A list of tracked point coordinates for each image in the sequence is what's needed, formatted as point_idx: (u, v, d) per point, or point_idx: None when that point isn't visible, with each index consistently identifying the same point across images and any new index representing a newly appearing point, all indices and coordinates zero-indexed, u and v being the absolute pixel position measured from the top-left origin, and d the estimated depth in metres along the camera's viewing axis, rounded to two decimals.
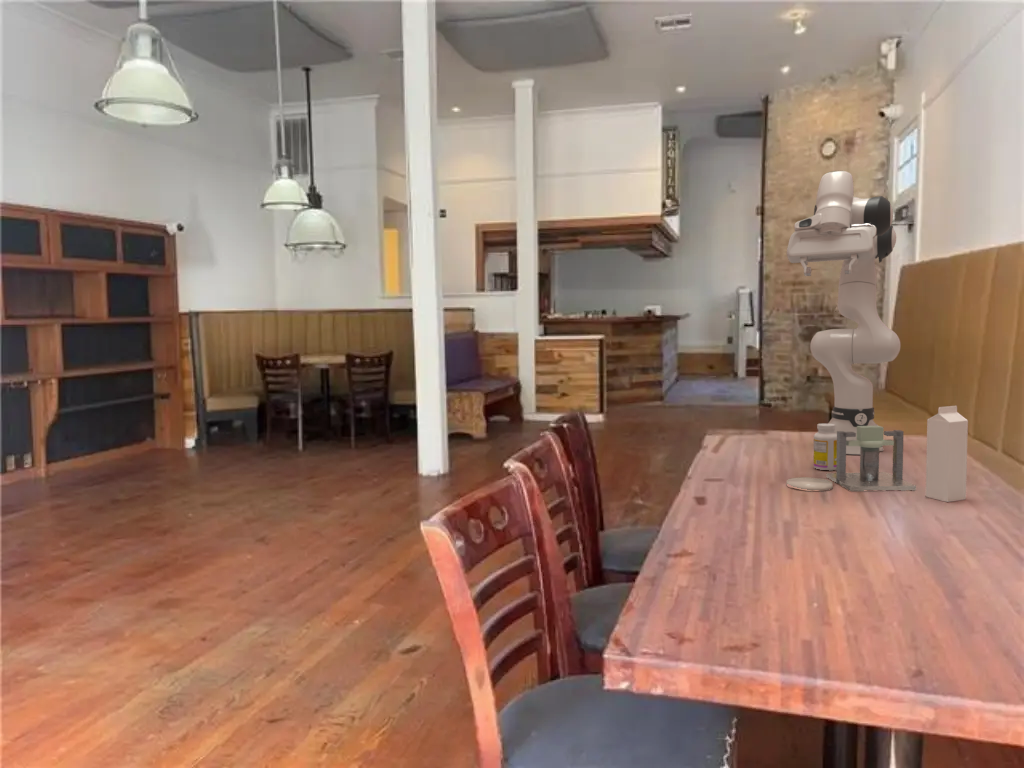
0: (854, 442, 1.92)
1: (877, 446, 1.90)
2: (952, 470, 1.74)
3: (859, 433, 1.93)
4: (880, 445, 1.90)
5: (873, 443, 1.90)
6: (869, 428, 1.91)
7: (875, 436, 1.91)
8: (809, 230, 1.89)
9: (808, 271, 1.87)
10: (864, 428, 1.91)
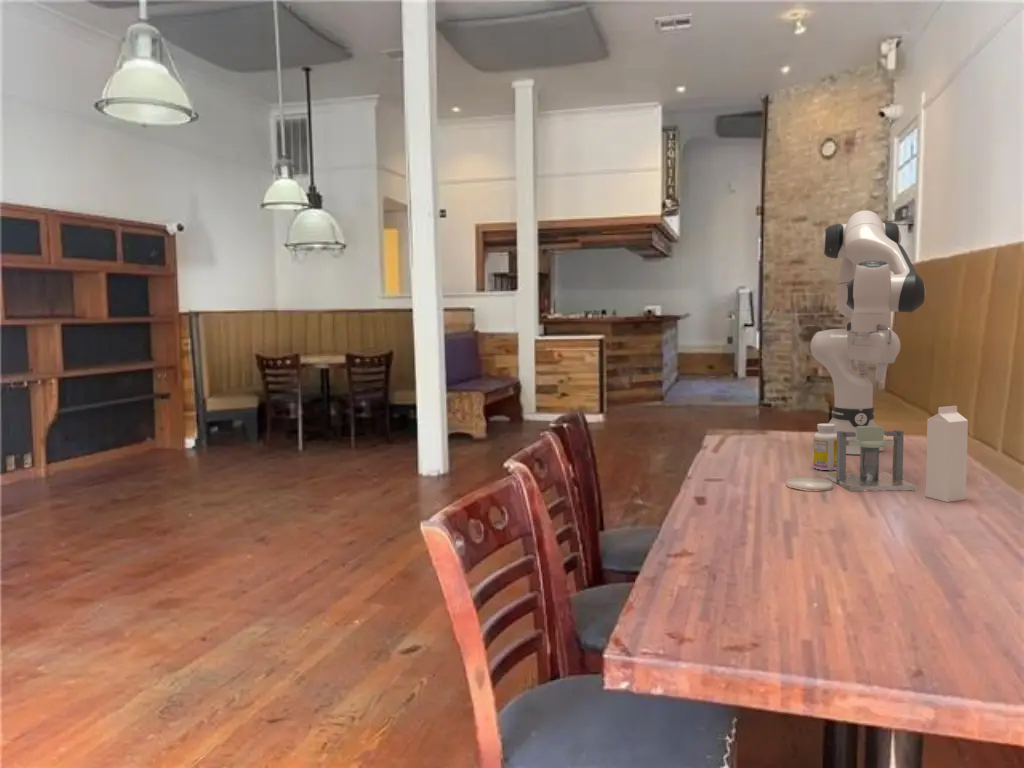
0: (854, 442, 1.92)
1: (877, 446, 1.90)
2: (952, 470, 1.74)
3: (859, 433, 1.93)
4: (880, 445, 1.90)
5: (873, 443, 1.90)
6: (869, 428, 1.91)
7: (875, 436, 1.91)
8: (852, 335, 1.95)
9: (859, 375, 1.96)
10: (864, 428, 1.91)
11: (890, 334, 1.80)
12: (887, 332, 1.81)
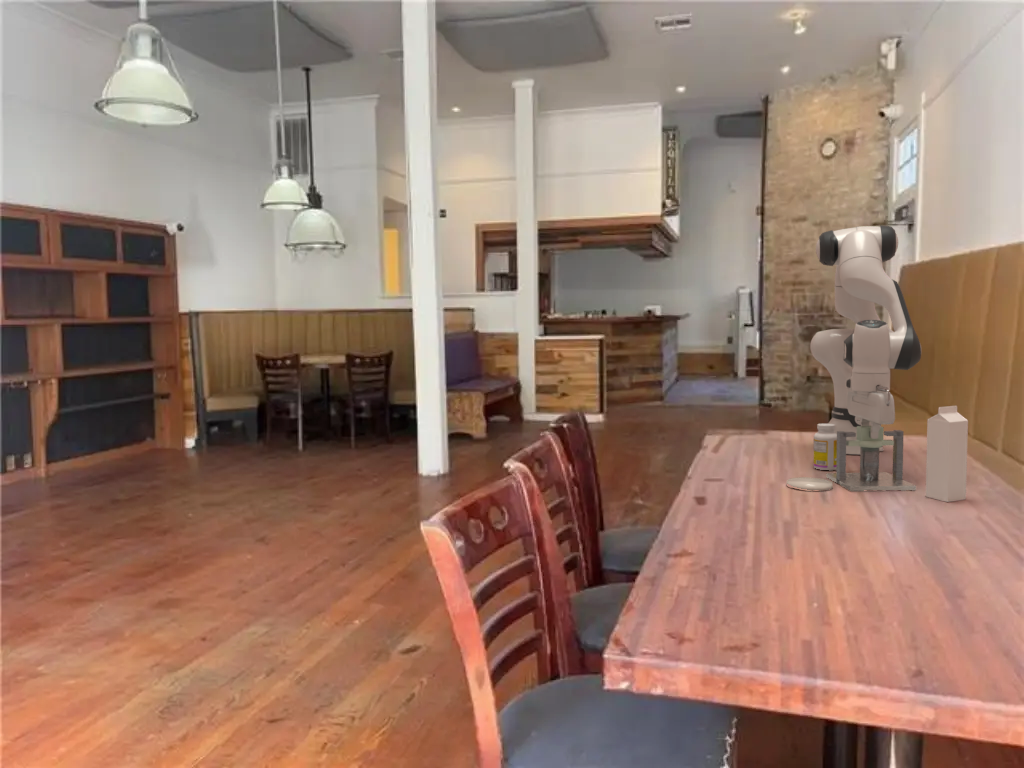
0: (854, 442, 1.92)
1: (877, 446, 1.90)
2: (952, 470, 1.74)
3: (859, 433, 1.93)
4: (880, 445, 1.90)
5: (873, 443, 1.90)
6: (869, 428, 1.91)
7: None
8: (852, 392, 1.97)
9: None
10: (864, 428, 1.91)
11: (889, 396, 1.82)
12: (886, 394, 1.82)
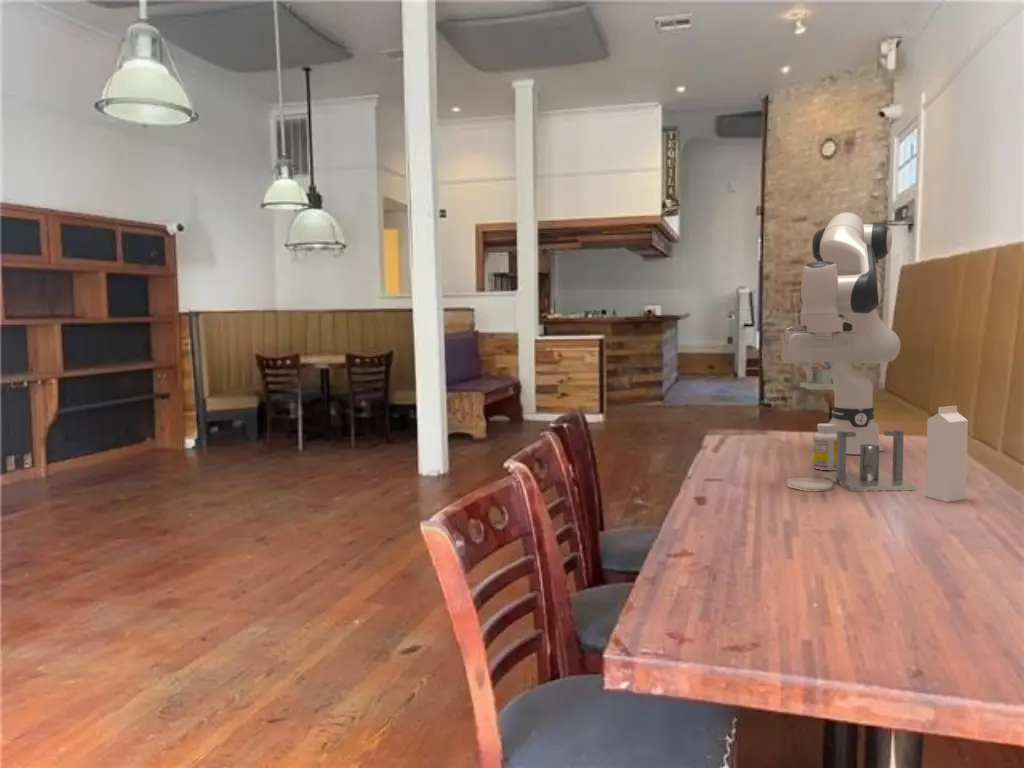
0: (803, 383, 1.94)
1: (811, 388, 1.88)
2: (952, 470, 1.74)
3: None
4: (815, 387, 1.88)
5: (808, 384, 1.89)
6: (812, 370, 1.90)
7: (816, 378, 1.89)
8: None
9: None
10: None
11: (784, 335, 1.86)
12: None
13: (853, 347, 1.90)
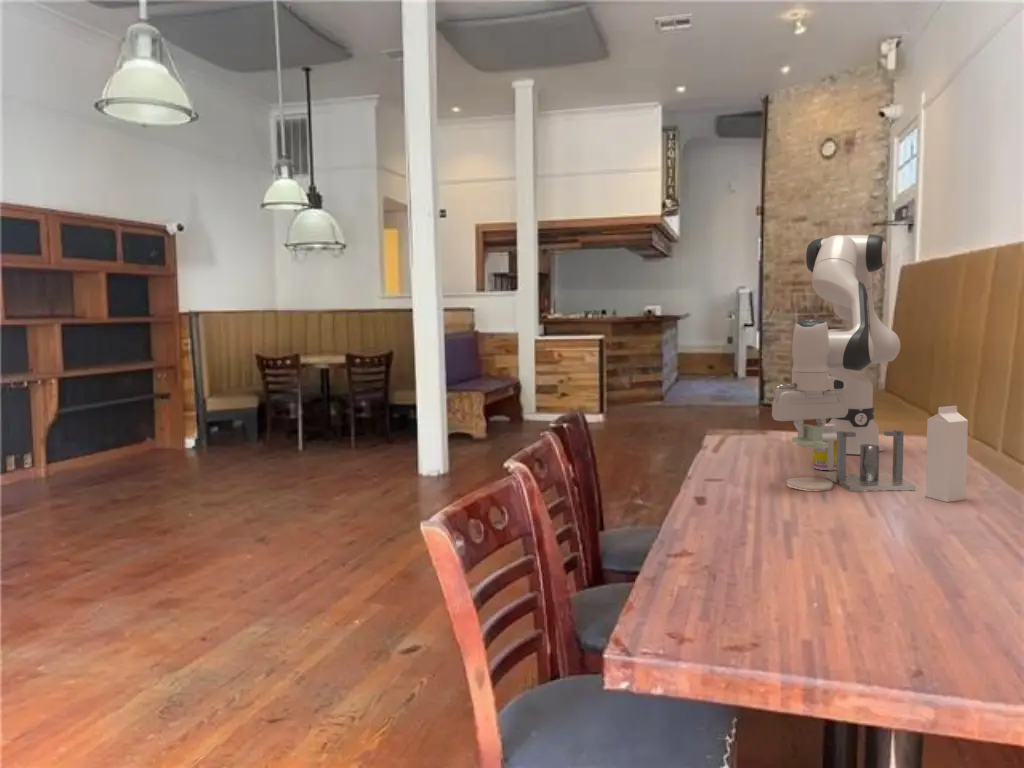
0: (795, 438, 1.95)
1: (802, 445, 1.90)
2: (952, 470, 1.74)
3: None
4: (806, 445, 1.89)
5: (799, 441, 1.91)
6: (803, 426, 1.91)
7: (807, 435, 1.90)
8: None
9: None
10: None
11: (774, 393, 1.88)
12: None
13: (845, 404, 1.91)
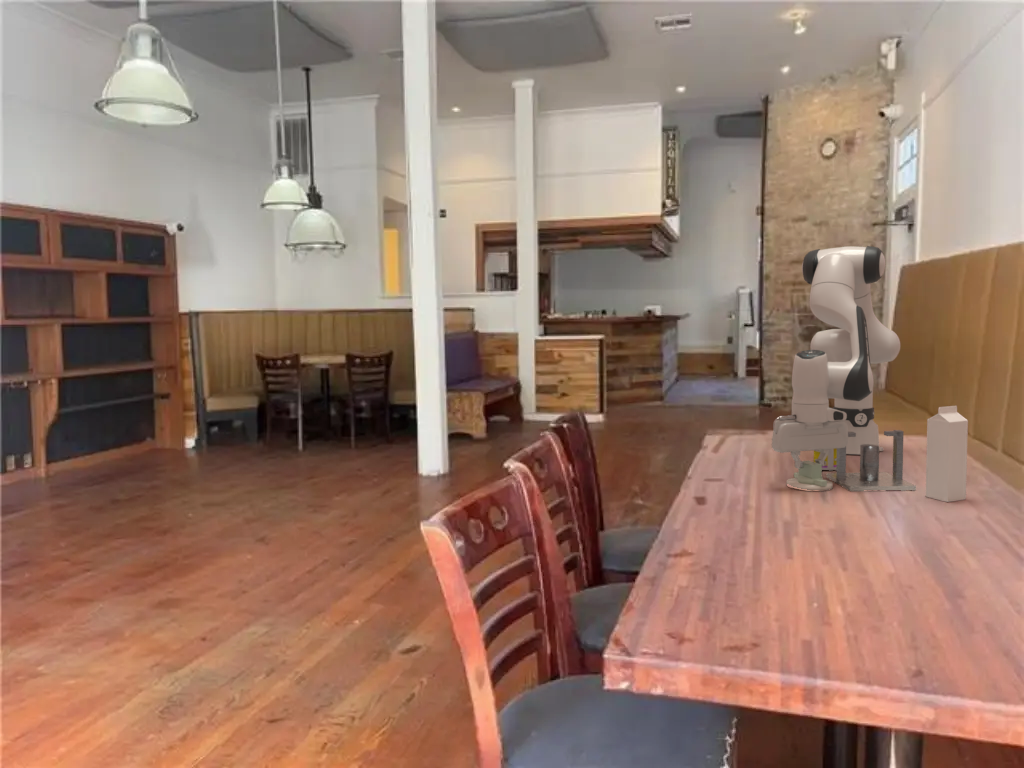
0: (797, 474, 1.96)
1: (801, 482, 1.91)
2: (952, 470, 1.74)
3: None
4: (805, 482, 1.90)
5: (798, 478, 1.92)
6: None
7: (806, 472, 1.91)
8: None
9: None
10: None
11: (774, 424, 1.89)
12: None
13: (845, 434, 1.91)
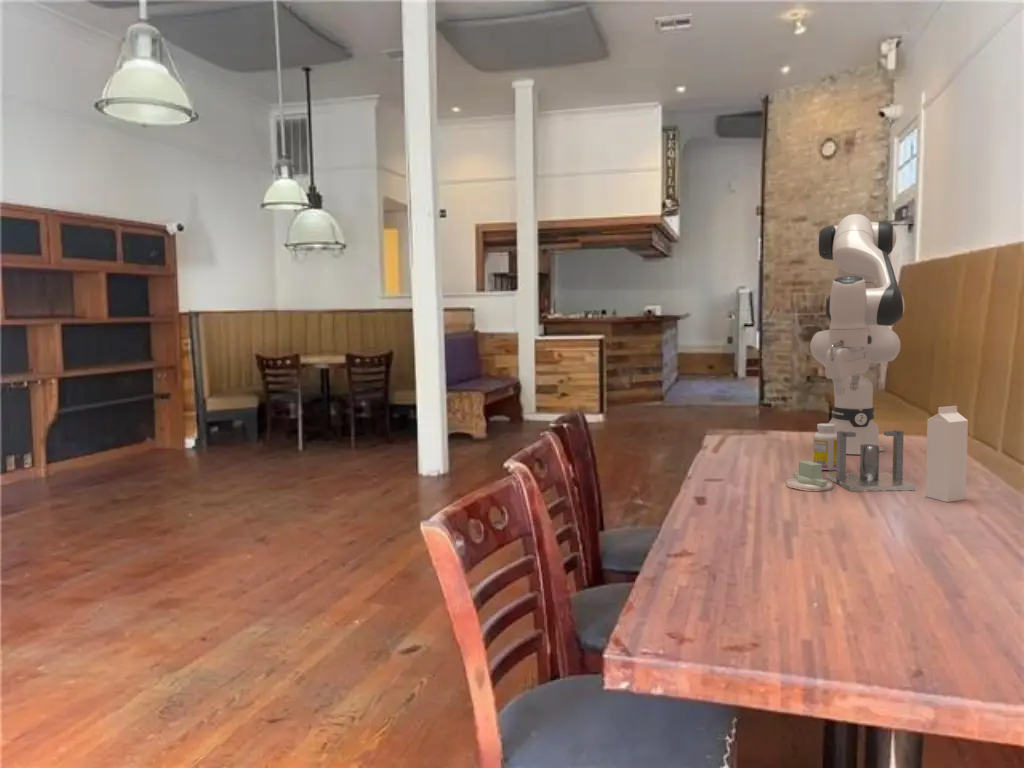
0: (797, 474, 1.96)
1: (801, 482, 1.91)
2: (952, 470, 1.74)
3: None
4: (805, 482, 1.90)
5: (799, 478, 1.92)
6: (803, 463, 1.93)
7: (806, 472, 1.91)
8: None
9: None
10: (800, 462, 1.94)
11: (831, 351, 1.86)
12: None
13: (868, 358, 1.98)
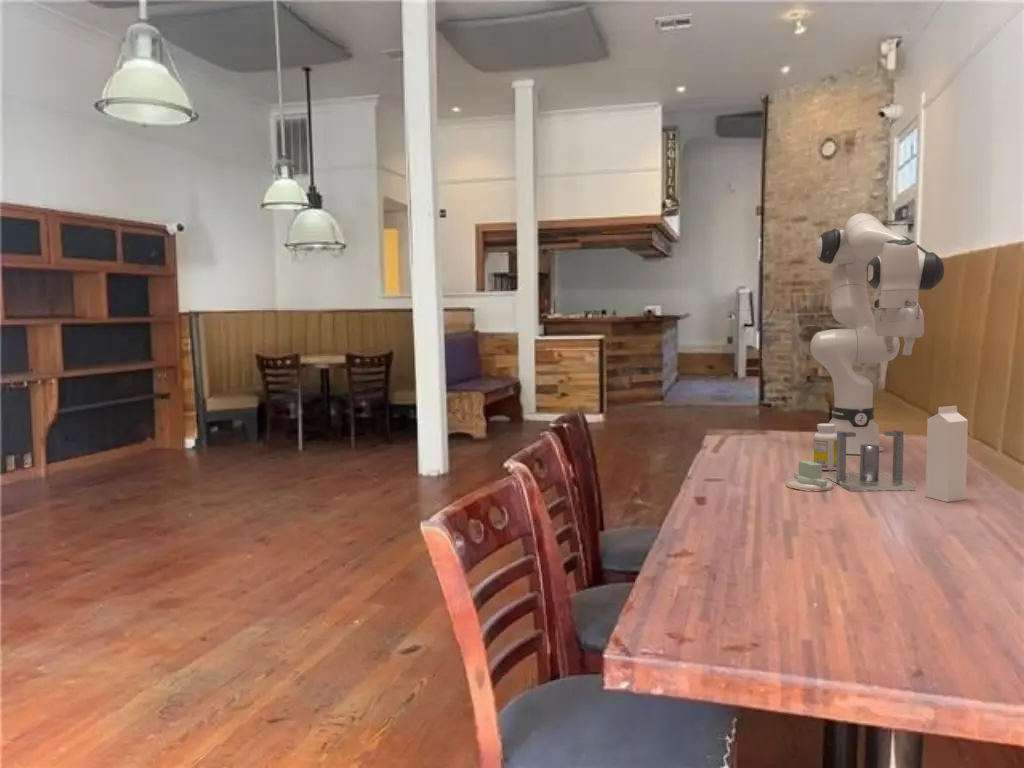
0: (797, 474, 1.96)
1: (801, 482, 1.91)
2: (952, 470, 1.74)
3: None
4: (805, 482, 1.90)
5: (799, 478, 1.92)
6: (803, 463, 1.93)
7: (807, 472, 1.91)
8: (880, 312, 2.01)
9: (887, 351, 2.02)
10: (800, 462, 1.94)
11: (918, 309, 1.86)
12: (915, 307, 1.87)
13: None
